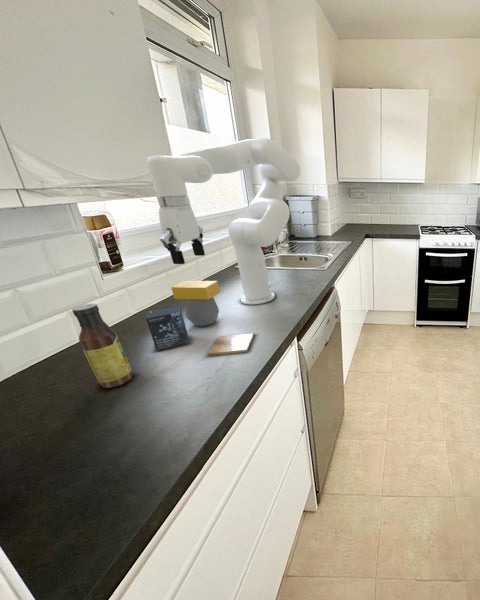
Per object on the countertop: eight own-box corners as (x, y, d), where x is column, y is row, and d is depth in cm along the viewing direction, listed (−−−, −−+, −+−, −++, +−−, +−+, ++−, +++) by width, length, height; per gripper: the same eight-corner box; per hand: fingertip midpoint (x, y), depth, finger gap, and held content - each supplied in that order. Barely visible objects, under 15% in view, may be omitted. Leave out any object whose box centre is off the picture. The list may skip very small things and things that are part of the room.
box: (156, 352, 88) (145, 318, 84) (157, 343, 93) (146, 311, 89) (189, 344, 92) (179, 311, 88) (188, 336, 97) (179, 305, 93)
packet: (188, 291, 105) (185, 280, 103) (220, 292, 104) (217, 280, 103) (174, 299, 99) (170, 287, 97) (208, 299, 98) (205, 287, 97)
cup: (186, 331, 100) (178, 302, 96) (191, 319, 108) (184, 292, 104) (220, 326, 103) (213, 298, 100) (222, 315, 111) (216, 289, 107)
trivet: (219, 338, 96) (218, 336, 95) (254, 335, 98) (253, 333, 97) (208, 356, 86) (207, 353, 86) (247, 351, 89) (246, 349, 88)
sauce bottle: (140, 376, 78) (112, 303, 70) (111, 392, 72) (78, 314, 65) (122, 371, 80) (93, 299, 72) (93, 386, 74) (58, 310, 67)
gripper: (182, 199, 99) (196, 252, 106) (138, 205, 83) (157, 267, 90) (205, 199, 99) (217, 252, 105) (165, 205, 83) (183, 267, 89)
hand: (190, 259), depth 97 cm, fingers open, 9 cm apart
